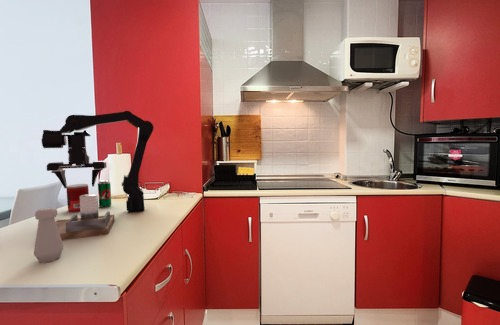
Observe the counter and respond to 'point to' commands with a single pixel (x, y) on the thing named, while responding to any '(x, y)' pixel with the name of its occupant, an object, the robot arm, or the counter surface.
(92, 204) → the canister
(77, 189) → the canned food
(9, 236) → the counter surface
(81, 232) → the dock
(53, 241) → the salt shaker
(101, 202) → the soda can
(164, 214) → the counter surface
